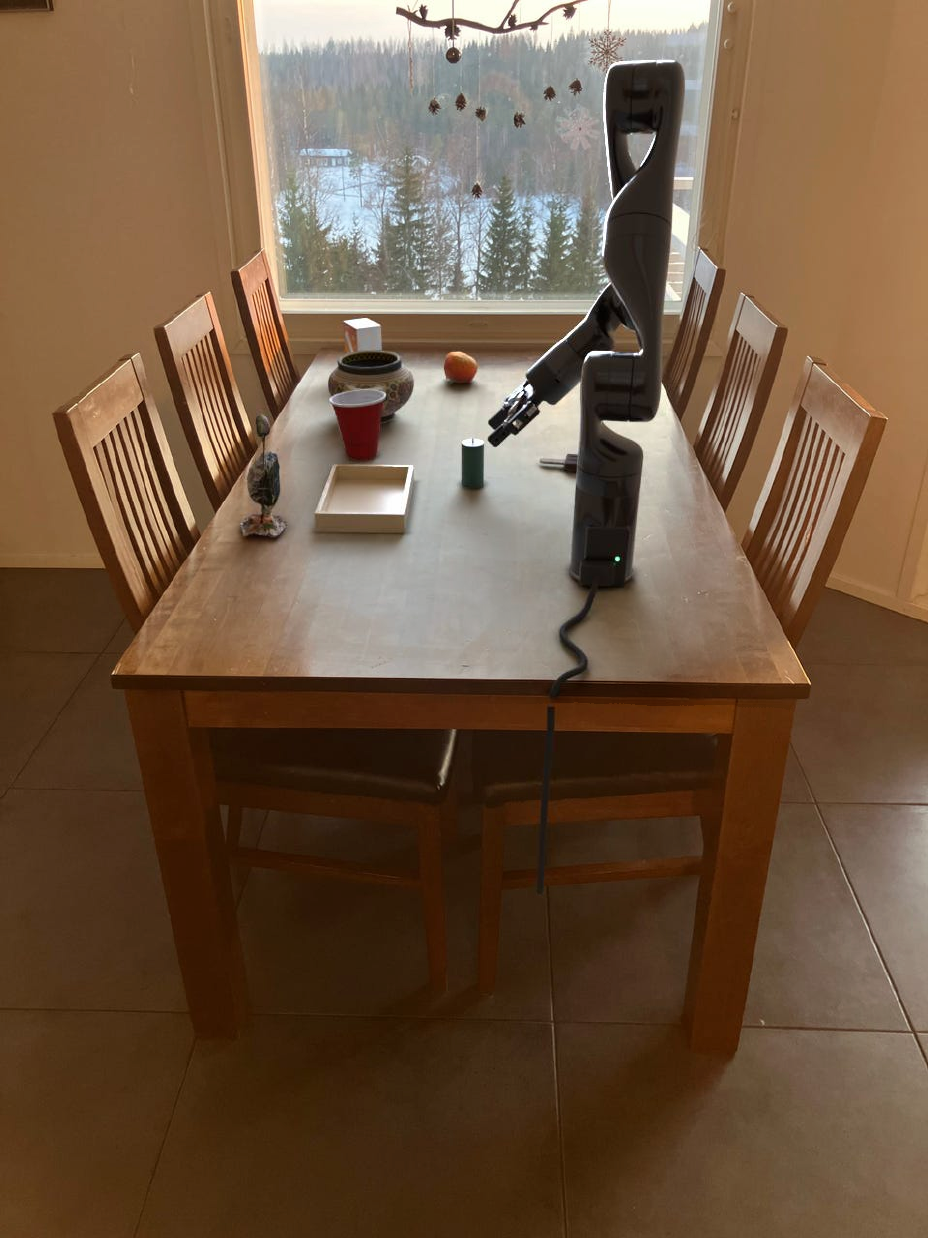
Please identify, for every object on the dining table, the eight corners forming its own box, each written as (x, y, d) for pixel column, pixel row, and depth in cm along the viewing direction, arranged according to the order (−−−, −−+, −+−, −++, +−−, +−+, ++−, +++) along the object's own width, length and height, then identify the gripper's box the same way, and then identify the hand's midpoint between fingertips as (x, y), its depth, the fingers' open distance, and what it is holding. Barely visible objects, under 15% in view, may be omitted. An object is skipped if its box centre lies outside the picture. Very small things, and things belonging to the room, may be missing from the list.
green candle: (483, 488, 176) (484, 442, 172) (461, 488, 176) (461, 442, 172) (483, 480, 180) (484, 434, 175) (461, 480, 180) (461, 434, 175)
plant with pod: (299, 514, 167) (289, 399, 156) (276, 543, 157) (264, 422, 147) (254, 510, 168) (241, 396, 158) (228, 539, 158) (213, 419, 148)
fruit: (430, 373, 233) (446, 342, 231) (456, 387, 237) (472, 356, 235) (444, 382, 226) (461, 351, 224) (471, 396, 231) (487, 365, 229)
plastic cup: (354, 441, 197) (351, 383, 191) (399, 451, 192) (397, 391, 186) (321, 458, 189) (316, 397, 183) (366, 469, 184) (363, 407, 178)
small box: (346, 375, 236) (342, 320, 230) (370, 371, 239) (367, 317, 233) (359, 384, 230) (356, 328, 224) (383, 380, 233) (381, 324, 226)
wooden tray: (404, 533, 160) (404, 514, 159) (315, 531, 161) (314, 513, 159) (414, 482, 179) (413, 465, 177) (334, 481, 179) (333, 464, 178)
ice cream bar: (538, 469, 184) (618, 475, 182) (538, 461, 183) (619, 466, 181) (541, 459, 189) (619, 464, 187) (541, 451, 188) (620, 456, 186)
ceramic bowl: (353, 411, 222) (332, 346, 215) (428, 393, 219) (410, 327, 211) (332, 449, 201) (308, 379, 194) (414, 431, 197) (393, 359, 190)
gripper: (542, 344, 172) (476, 406, 178) (546, 367, 160) (475, 434, 166) (571, 374, 175) (505, 435, 181) (576, 399, 162) (506, 464, 168)
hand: (491, 434), depth 173 cm, fingers open, 8 cm apart
